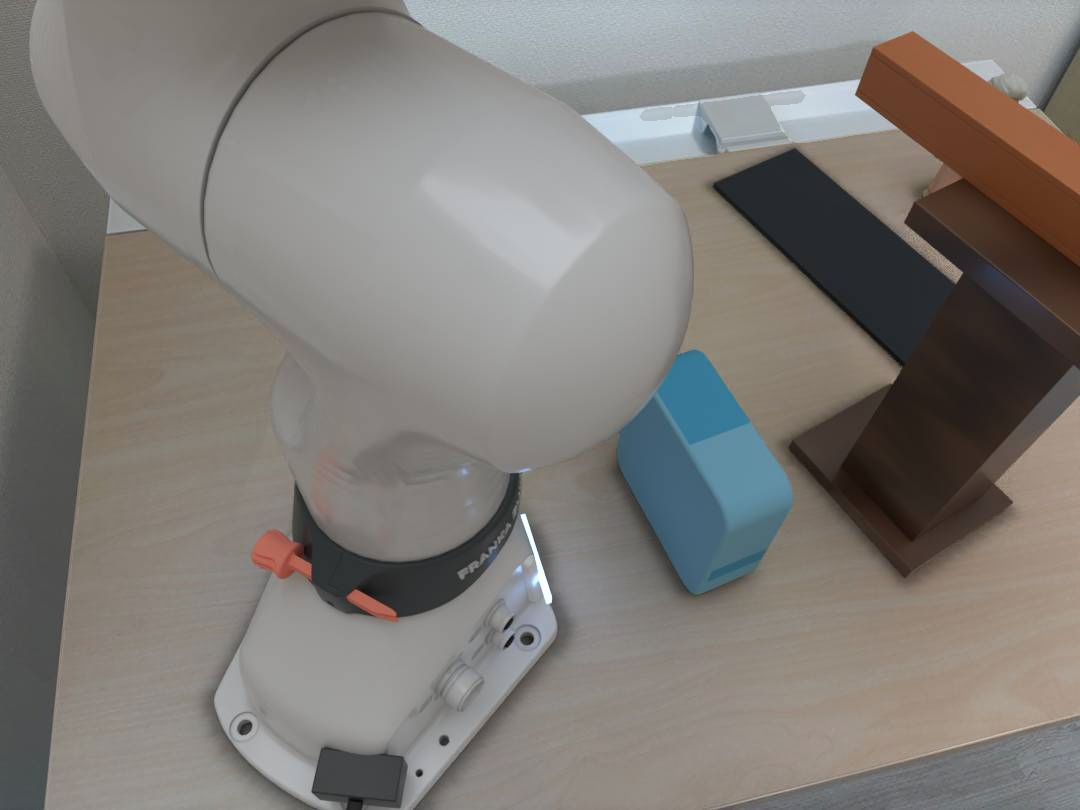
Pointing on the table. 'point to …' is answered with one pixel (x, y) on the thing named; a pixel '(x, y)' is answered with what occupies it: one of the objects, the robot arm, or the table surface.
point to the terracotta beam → (979, 135)
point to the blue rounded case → (704, 476)
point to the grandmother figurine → (1008, 86)
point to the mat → (841, 249)
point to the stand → (958, 387)
